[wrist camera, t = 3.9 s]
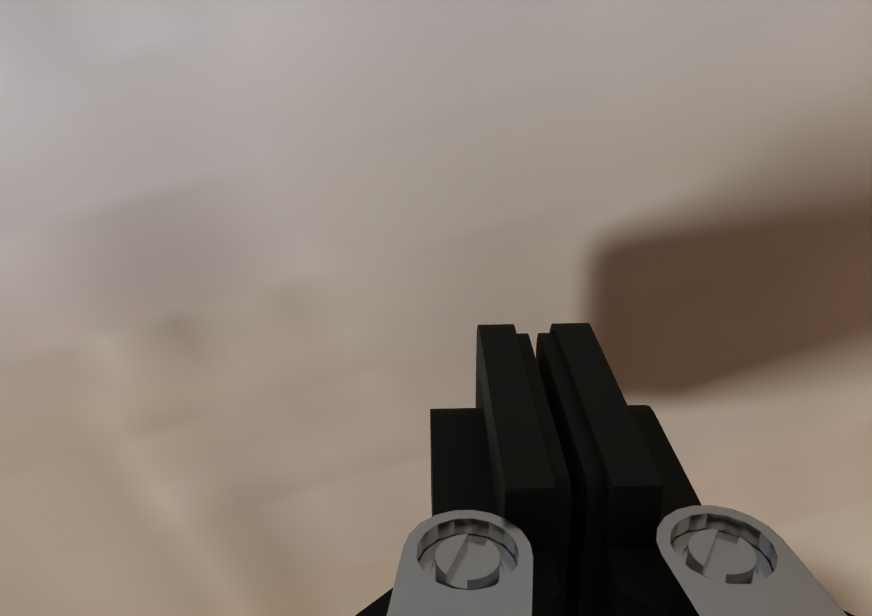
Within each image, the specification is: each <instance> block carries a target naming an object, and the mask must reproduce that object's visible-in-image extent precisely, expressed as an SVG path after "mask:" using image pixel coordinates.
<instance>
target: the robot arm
mask: <svg viewBox="0 0 872 616" xmlns="http://www.w3.org/2000/svg"><path fill="white" fill-rule="evenodd" d="M430 430H431V496H432V517H431V518H429V519H427V520H425V521H423V522H421V523H420V524H419V525H418V526H417V527H416V528H415V529H414V530H413V531H412V532H411V533H410V534H409V536H408V538H407V540H406V542H405V544H404V546H403V550H402V554H401V558H400V562H399V566H398V571H397V575H396V579H395V583H394V587H393V588H392V589H391V590H389V591H388V592H387V593H385V594H384V595H383V596H381V597H380V598H378V599H377V600H376V601H374V602H373V603H372V604H370V605H369V606H368V607H366V608H365V609H364V610H362V611H361V612H360V613H358V614H357V615H356V616H854V615H852V614H850V613H848V612H846V611H844V610H842V609H841V608H840V606H839V605H838V604H837V603H836V602H835V601H834V599H833V598H832V597H831V596H830V595H829V593H828V592H827V591H826V590H825V589H824V588H823V586H822V585H821V584H820V583H819V582H818V580H817V579H816V578H815V577H814V576H813V574H812V573H811V572H810V571H809V570H808V569H807V567H806V566H805V565H804V564H803V563H802V561H801V560H800V559H799V558H798V557H797V556H796V554H795V553H794V552H793V551H792V550H791V548H790V547H789V546H788V545H787V544H786V542H785V541H784V540H783V539H782V538H781V537H780V536H779V535H778V534H777V533H776V532H774V531H773V530H772V529H771V528H770V527H769V526H767V525H766V524H764V523H762V522H761V521H759V520H757V519H755V518H754V517H752V516H750V515H747V514H744V513H742V512H739V511H736V510H733V509H730V508H724V507H718V506H713V505H701V503H700V501H699V499H698V497H697V495H696V493H695V491H694V489H693V487H692V486H691V484H690V482H689V480H688V478H687V476H686V474H685V472H684V470H683V468H682V466H681V464H680V462H679V460H678V458H677V456H676V454H675V452H674V450H673V449H672V447H671V445H670V443H669V441H668V439H667V437H666V435H665V433H664V431H663V429H662V427H661V425H660V423H659V421H658V419H657V417H656V415H655V413H654V412H653V410H652V409H651V407H650V406H647V405H627V404H626V401H625V399H624V397H623V395H622V393H621V391H620V388H619V386H618V384H617V382H616V380H615V378H614V375H613V373H612V371H611V369H610V367H609V365H608V362H607V360H606V358H605V356H604V354H603V352H602V349H601V347H600V345H599V343H598V341H597V339H596V336H595V334H594V332H593V330H592V328H591V326H590V324H589V323H566V324H552V325H551V328H550V333H538V337H537V346H536V358H535V355H534V352H533V348H532V345H531V341H530V338H529V335H528V333H526V334H516V330H515V326H514V324H503V325H478V327H477V353H476V408H457V409H430Z"/></svg>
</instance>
